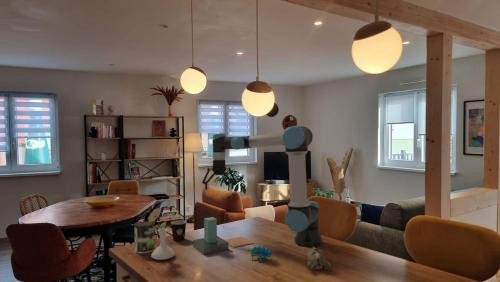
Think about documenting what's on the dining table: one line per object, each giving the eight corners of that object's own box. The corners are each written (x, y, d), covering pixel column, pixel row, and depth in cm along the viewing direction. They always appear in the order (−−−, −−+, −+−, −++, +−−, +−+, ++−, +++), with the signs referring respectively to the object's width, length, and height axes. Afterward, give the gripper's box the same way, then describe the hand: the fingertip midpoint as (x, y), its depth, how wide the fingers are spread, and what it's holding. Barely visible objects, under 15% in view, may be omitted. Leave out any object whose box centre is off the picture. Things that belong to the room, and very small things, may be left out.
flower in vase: (167, 251, 171) (166, 203, 170) (179, 257, 162) (178, 207, 162) (143, 258, 161) (143, 207, 161) (155, 265, 153) (154, 211, 153)
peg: (217, 249, 174) (216, 219, 174) (208, 251, 171) (208, 220, 171) (212, 246, 178) (212, 217, 178) (204, 248, 176) (204, 218, 175)
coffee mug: (188, 237, 194) (188, 220, 194) (183, 242, 186) (183, 224, 186) (169, 236, 196) (168, 220, 195) (163, 241, 187) (163, 224, 187)
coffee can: (159, 248, 175) (158, 222, 175) (143, 255, 166) (143, 227, 166) (145, 245, 180) (145, 220, 180) (130, 251, 172) (129, 224, 171)
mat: (253, 243, 183) (253, 242, 183) (233, 247, 176) (233, 246, 176) (241, 237, 194) (241, 236, 194) (221, 241, 187) (221, 240, 187)
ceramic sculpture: (324, 243, 156) (333, 256, 141) (324, 260, 157) (333, 276, 142) (302, 243, 156) (308, 257, 141) (302, 261, 157) (308, 276, 142)
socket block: (228, 250, 173) (228, 242, 173) (203, 255, 165) (203, 247, 165) (216, 242, 185) (216, 235, 184) (193, 247, 177) (193, 239, 177)
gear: (275, 254, 161) (268, 244, 155) (273, 266, 157) (266, 256, 151) (254, 254, 165) (247, 245, 159) (252, 266, 161) (244, 256, 155)
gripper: (239, 158, 200) (240, 193, 200) (198, 159, 199) (199, 194, 199) (240, 159, 193) (240, 195, 193) (197, 160, 192) (197, 196, 192)
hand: (219, 195), depth 196 cm, fingers open, 13 cm apart
